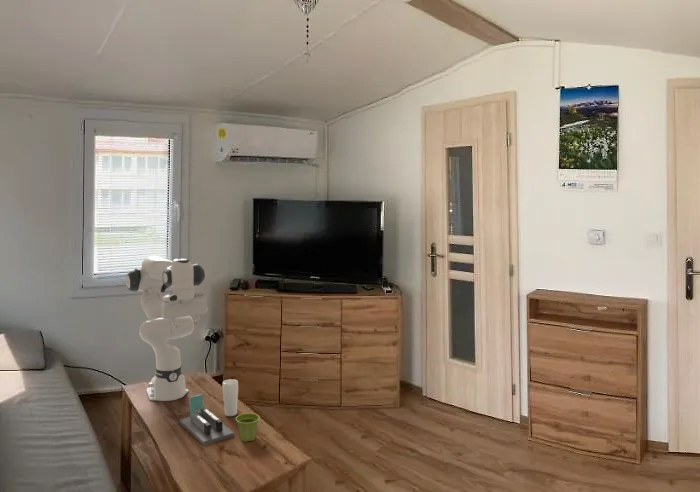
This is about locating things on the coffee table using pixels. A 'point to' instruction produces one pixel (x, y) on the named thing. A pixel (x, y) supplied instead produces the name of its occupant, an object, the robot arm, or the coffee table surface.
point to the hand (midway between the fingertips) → (185, 326)
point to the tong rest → (201, 435)
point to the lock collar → (196, 404)
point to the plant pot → (247, 426)
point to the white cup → (230, 396)
